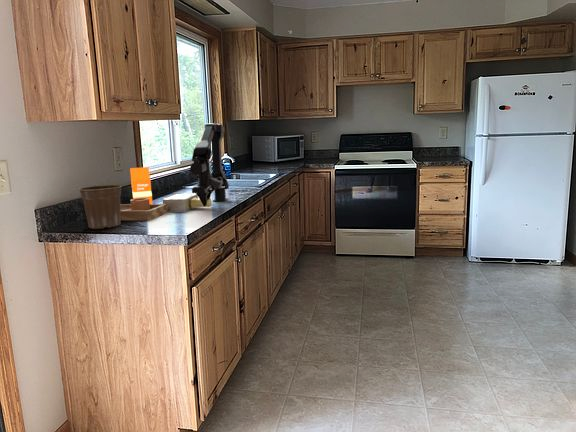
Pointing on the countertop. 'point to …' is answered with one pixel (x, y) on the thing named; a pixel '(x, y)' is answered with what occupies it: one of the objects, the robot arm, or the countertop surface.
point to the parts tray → (143, 212)
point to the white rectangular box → (179, 202)
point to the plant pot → (102, 205)
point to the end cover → (199, 203)
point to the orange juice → (141, 183)
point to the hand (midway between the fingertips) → (206, 205)
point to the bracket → (139, 204)
